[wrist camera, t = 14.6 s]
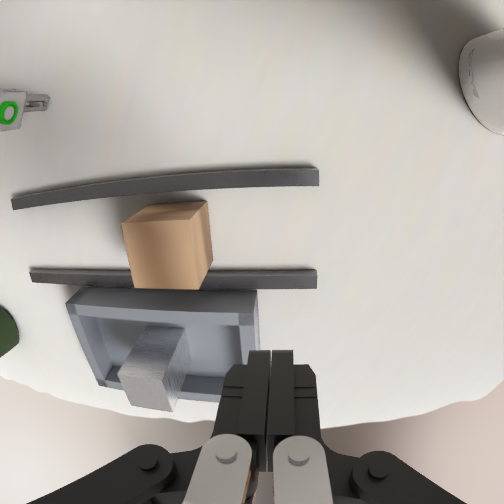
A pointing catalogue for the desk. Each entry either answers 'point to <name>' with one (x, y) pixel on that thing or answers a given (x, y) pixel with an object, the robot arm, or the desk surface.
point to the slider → (169, 245)
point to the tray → (167, 315)
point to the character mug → (7, 333)
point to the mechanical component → (18, 107)
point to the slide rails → (169, 184)
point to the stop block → (156, 368)
